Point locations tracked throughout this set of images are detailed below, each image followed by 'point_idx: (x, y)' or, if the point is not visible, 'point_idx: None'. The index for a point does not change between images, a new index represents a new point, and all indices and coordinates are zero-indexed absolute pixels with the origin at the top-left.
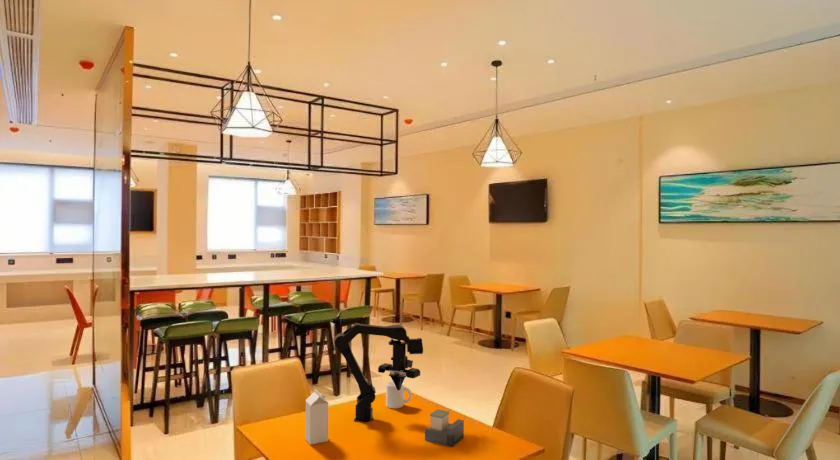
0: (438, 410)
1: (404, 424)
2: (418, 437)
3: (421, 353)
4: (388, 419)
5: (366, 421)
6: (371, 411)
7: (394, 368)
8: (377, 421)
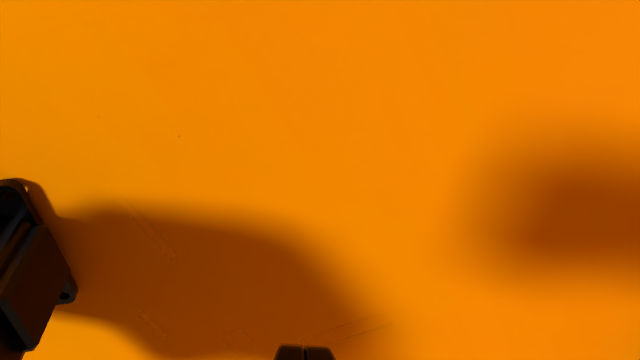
0: None
1: (420, 201)
2: (587, 344)
3: None
4: (208, 157)
5: (64, 301)
6: (34, 311)
7: None
8: (137, 237)
